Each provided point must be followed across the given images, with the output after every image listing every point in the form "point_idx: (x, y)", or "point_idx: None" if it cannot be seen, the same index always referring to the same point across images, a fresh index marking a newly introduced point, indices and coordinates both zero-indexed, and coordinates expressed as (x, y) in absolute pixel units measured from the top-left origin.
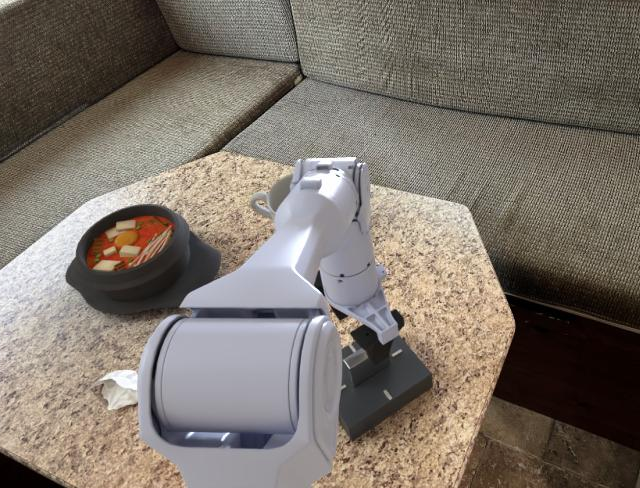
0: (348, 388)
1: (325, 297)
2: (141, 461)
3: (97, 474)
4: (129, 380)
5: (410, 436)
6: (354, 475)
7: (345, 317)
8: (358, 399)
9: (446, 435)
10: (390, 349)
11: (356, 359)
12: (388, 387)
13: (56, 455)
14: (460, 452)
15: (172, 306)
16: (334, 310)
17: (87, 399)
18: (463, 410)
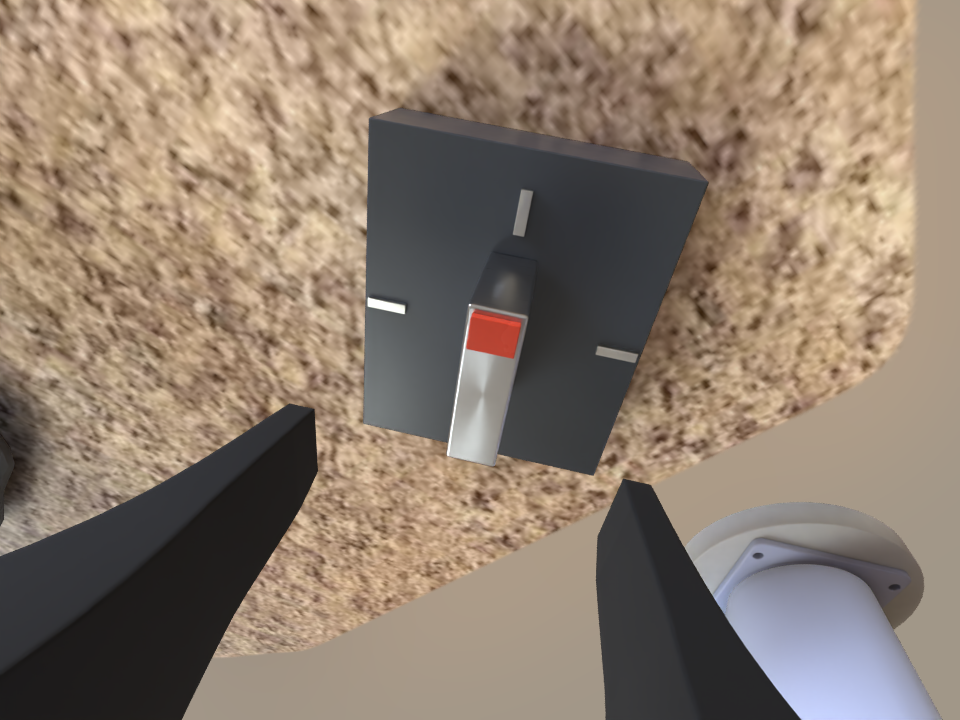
0: None
1: (183, 713)
2: (332, 610)
3: (314, 638)
4: None
5: (721, 337)
6: (653, 472)
7: (314, 451)
8: (549, 409)
9: (831, 268)
10: (672, 526)
11: (482, 433)
12: (597, 331)
13: (252, 644)
14: (905, 282)
15: (9, 470)
16: (268, 554)
17: None
18: (851, 155)
